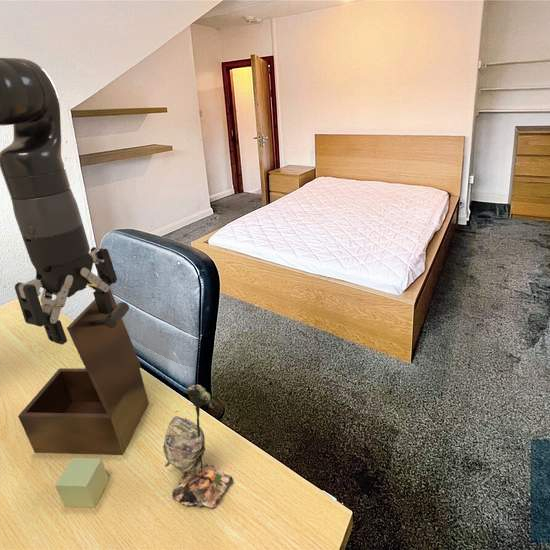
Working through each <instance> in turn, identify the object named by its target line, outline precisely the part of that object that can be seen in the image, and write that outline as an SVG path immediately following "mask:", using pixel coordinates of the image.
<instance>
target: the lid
mask: <svg viewBox="0 0 550 550" xmlns="http://www.w3.org/2000/svg"><path fill="white" fill-rule="evenodd" d="M108 292H109V295H110V299H111V303H112V308H111V310H112V312H111V313H109V314H108V315H107V314H102V313H100V312H99V311H98V308H97V304H96V301H95V299H93V300H92V301H91V302H90V303H89V304H88V305H87V306H86V307H85V309H84V310H83V311H82V312H80V314H79V315H78V316H77V317H76V318H74V319H73V321H72V322H70V323H69V325H68V326H67V327H66V330H67V332H68V334H69V336H70V338H71V341H72V343H73V345H74V347H75V348H76V349H75V350H76V351H77V353H78V355H79V358H80V360H81V361H82V364H83V366H84V368H86V370H87V372H88V374H89V376H90V379H91V381H92V383H93V385H94V387H95V389H96V391H97V393H98V396H99V398H100V400H101V402H102V404H103V406H104V408H105V410H106V412H107V415H108V416H110V415H113V413H114V411H115V410H116V408H117V406H118V405H119V403H120V401H121V400H122V398H123V396H124V395H125V393H126V391H127V389H128V388H129V386H130V384H131V383H132V381H133V379H134V378H135V376H136V374H137V373H138V371H139V369H140V370H141V367H142V365H141V363H140V360H139V357H138V356H137V353H136V350H135V347H134V344H133V342H132V339H131V338H130V337H131V336H130V335H129V333H128V332H129V331H128V330H127V327H126V325H125V322H124V320H123V318H124V317H125V316H126V314H127V313H128V312H129V310H130V306H129V304H128V303H127V302H126V301H125V302H124V301H119V303H117V302H116V300H115V297H114V295H113V293H112V290H111V287H109V291H108Z"/></svg>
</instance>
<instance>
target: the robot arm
mask: <svg viewBox="0 0 550 550" xmlns="http://www.w3.org/2000/svg"><path fill="white" fill-rule="evenodd" d="M12 125H13V140H12V142H11V144H9V145H8V146H6V147H5V148H4V149H2V150H1V151H0V172H1V174H2V177H3V179H4V182H5V185H6V188H7V191H8V194H9V196H10V200H11V204H12V210H13V215H14V217H15V221H16V223H17V226H18V230H19V232H20V235H21V238H22V240H23V244H24V246H25V249H26V251H27V254H28V257H29V260H30V263H31V264H32V266H33V267H34V269H35V278H34V279H31V280H29V281H26V282H20V281H19V282H16V283H15V284H14V290H15V293H16V296H17V297H16V298H17V300H18V303H19V306H20V309H21V312H22V316H23V319H24V322H25V323H26V324H29V325H34V326H36V327H41V328H42V327H43V328H44V331H45V333H46V336H47V339H48V340H49V341H50V342H52V343H55V344H58V345H64V344H66V343H67V342H68V339H67V335H66V333H65V330H64V327H63V324H62V321H61V320H60V319H59V318H60V314H61V310H62V308H64V307H65V305H66V302H67V298H71V297H72V296H74V295H75V294H76V293H77V292H81V291H84V290H85V289H86V288H87V287H88V288H90V289H92V290H93V292H92V294H93V296H94V300H95V301H96V304H97V308H98V311H99V312H100V313H102V314H107V315H108V314H109V313H111V312H112V310H111V308H112V303H111V299H110V295H109V292H108V291H109V288H111V285H113V284H116V283H117V282H118V278H117V275H116V271H115V268H114V264H113V262H112V258H111V256H110V252H109V249H107V248H103V247H98V246H97V247H95V246H92V247H91V249H90V244H89V241H88V237H87V232H86V230H85V226H84V223H83V219H82V215H81V213H80V212H81V211H80V208H79V205H78V202H77V200H76V198H75V195H74V193H73V191H72V188H71V185H70V181H69V178H68V174H67V171H66V168H65V164H64V162H63V157H62V126H61V125H62V121H61V107H60V100H59V95H58V92H57V89H56V87H55V85H54V83H53V80H52V79H51V78H50V76H49V75H48V73H47V72H46V71H45V70H44V69H43V67H41V66H40V65H39V64H37V63H36V62H34V61H33V60H29V59H26V58H17V57H0V127H3V126H4V127H5V126H12ZM93 266H95V269H96V273H97V274H98V275H96V274H95V273H94V272H92V269H93ZM41 288H42V289H43V290H42V293H41V292H40V291H41ZM53 295H54V296H56V297H55V299H54V298H53ZM39 296H41V297H39Z"/></svg>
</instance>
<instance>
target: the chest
mask: <svg viewBox="0 0 550 550" xmlns="http://www.w3.org/2000/svg"><path fill="white" fill-rule="evenodd" d="M148 405H150V404H149V399H148V395H147V391H146V387H145V384H144V380H143V376H142V372H141V368H140V369H139V371H138V373H137V374H136V376H135V378H134V379H133V381H132V383H131V384H130V386H129V388H128V389H127V391H126V393H125V395H124V396H123V398H122V400H121V401H120V403H119V405H118V406H117V408H116V410H115V411H114V413H113V415H110V416H108V415H107V412H106V410H105V408H104V406H103V404H102V402H101V400H100V398H99V396H98V393H97V391H96V389H95V387H94V385H93V383H92V381H91V379H90V376H89V374H88V372H87V370H86V368H85V367H84V368H77V367H76V368H75V367H74V368H73V367H72V368H70V367H69V368H68V367H67V368H62V367H61V368H60V367H59V368H58V369H57V371H55V372H54V374H53V375H52V376H51V377H50V379H49V380H48V381H47V382H45V384H44V385H43V386H42V388H41V389H40V390H39V391H38V393H36V395H34V397H33V398H32V399H31V401H30V402H29V403H28V404H27V405H26V406H25V407H24V408H23V410H22V411H21V412H20V413H19V414H18V415H17V416H18V419H19V422H20V423H21V426H22V428H23V431H24V433H25V435H26V437H27V439H28V442H29V444H30V446H31V448H32V449H33V452H34V453H37V454H40V453H41V454H70V455H71V454H72V455H75V454H76V455H111V456H112V455H113V456H124V453H125V452H126V449H127V448H128V446H129V444H130V441H131V440H132V438H133V435H134V434H135V431H136V429H137V428H138V425H139V424H140V421H141V420H142V417H143V415H144V414H145V412H146V409H147V408H148Z"/></svg>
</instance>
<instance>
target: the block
mask: <svg viewBox="0 0 550 550" xmlns="http://www.w3.org/2000/svg"><path fill="white" fill-rule="evenodd" d="M108 482H109V475H108V473H107V470H106V467H105V465H104V462H103V458H97V457H95V458H94V457H72V458H71V459H70V461H69V463H67V466H66V467H65V469H64V470H63V472H62V473H61V475H60V476H59V478H58V480H57V482H56V483H55V484H54V486H55V488H56V491H57V492H58V496H59V498H60V500H61V502H62V505H63V506H64V508H65V507H66V508H67V507H68V508H88V509H89V508H91V509H94V508H96V506H97V504H98V502H99V500H100V498H101V496H102V494H103V492H104V490H105V488H106V487H107V484H108Z"/></svg>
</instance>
